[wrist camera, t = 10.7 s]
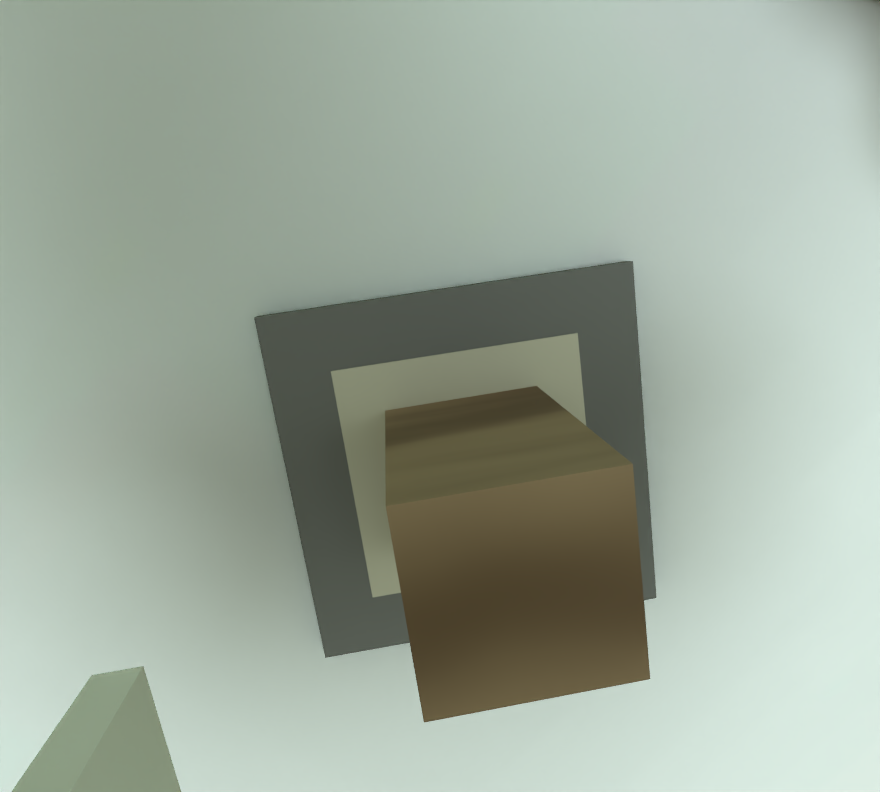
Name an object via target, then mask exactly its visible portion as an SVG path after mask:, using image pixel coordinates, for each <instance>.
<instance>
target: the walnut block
mask: <svg viewBox="0 0 880 792" xmlns="http://www.w3.org/2000/svg"><path fill="white" fill-rule="evenodd" d="M385 484H386V511H387V517H388V523H389V528H390V534H391V539H392V545H393V551H394V556H395V562H396V568H397V573H398V579H399V584H400V590H401V596H402V601H403V607H404V612H405V618H406V624H407V629H408V635H409V640H410V646H411V652H412V657H413V663H414V669H415V674H416V680H417V685H418V691H419V697H420V702H421V708H422V713H423V719H424V722H429V721H434V720H439V719H444V718H449V717H455V716H460V715H465V714H470V713H475V712H481V711H486V710H491V709H496V708H501V707H507V706H512V705H517V704H522V703H528V702H533V701H538V700H543V699H548V698H554V697H559V696H564V695H569V694H574V693H580V692H585V691H590V690H595V689H600V688H606V687H611V686H616V685H621V684H627V683H632V682H637V681H642V680H647V679H650V672H649V659H648V647H647V634H646V622H645V609H644V597H643V584H642V572H641V559H640V547H639V534H638V522H637V509H636V497H635V485H634V472H633V464H632V463H631V462H630V461H629V460H627V459H626V458H625V457H624V456H623V455H621V454H620V453H619V452H618V451H616V450H615V449H614V448H613V447H611V446H610V445H609V444H608V443H607V442H605V441H604V440H603V439H602V438H600V437H599V436H598V435H597V434H595V433H594V432H593V431H592V430H591V429H589V428H588V427H587V426H586V425H584V424H583V423H582V422H581V421H579V420H578V419H577V418H576V417H574V416H573V415H572V414H571V413H570V412H568V411H567V410H566V409H565V408H563V407H562V406H561V405H560V404H558V403H557V402H556V401H555V400H554V399H552V398H551V397H550V396H549V395H547V394H546V393H545V392H544V391H542V390H541V389H540V388H539V387H538V386H532V387H526V388H520V389H514V390H508V391H502V392H496V393H490V394H484V395H477V396H471V397H465V398H459V399H453V400H447V401H441V402H435V403H428V404H422V405H416V406H410V407H404V408H398V409H392V410H386V411H385Z"/></svg>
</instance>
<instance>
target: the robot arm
mask: <svg viewBox="0 0 880 792" xmlns="http://www.w3.org/2000/svg"><path fill="white" fill-rule="evenodd" d="M12 792H181V790H180V787H179V784H178V780H177V777H176V774H175V770H174V767H173V764H172V760H171V757H170V754H169V750H168V747H167V744H166V741H165V737H164V734H163V731H162V727H161V724H160V721H159V717H158V714H157V711H156V707H155V704H154V701H153V697H152V694H151V691H150V688H149V684H148V681H147V678H146V674H145V671H144V668H143V667H137V668H131V669H125V670H120V671H114V672H108V673H102V674H97V675H92V676H91V677H90V679H89V680H88V682H87V683H86V685H85V686H84V687H83V689H82V690H81V692H80V693H79V695H78V696H77V698H76V699H75V700H74V702H73V703H72V705H71V706H70V708H69V709H68V711H67V712H66V714H65V715H64V716H63V718H62V719H61V721H60V722H59V724H58V725H57V727H56V728H55V729H54V731H53V732H52V734H51V735H50V737H49V738H48V740H47V741H46V743H45V744H44V745H43V747H42V748H41V750H40V751H39V753H38V754H37V756H36V757H35V759H34V760H33V761H32V763H31V764H30V766H29V767H28V769H27V770H26V772H25V773H24V774H23V776H22V777H21V779H20V780H19V782H18V783H17V785H16V786H15V788H14V789H13V790H12Z"/></svg>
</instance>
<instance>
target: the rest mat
mask: <svg viewBox="0 0 880 792" xmlns="http://www.w3.org/2000/svg"><path fill="white" fill-rule="evenodd" d="M255 323H256V328H257V333H258V338H259V342H260V347H261V352H262V357H263V361H264V366H265V371H266V376H267V381H268V385H269V390H270V395H271V400H272V404H273V409H274V414H275V419H276V424H277V428H278V433H279V438H280V443H281V447H282V452H283V457H284V462H285V466H286V471H287V476H288V481H289V486H290V490H291V495H292V500H293V505H294V509H295V514H296V519H297V524H298V529H299V533H300V538H301V543H302V548H303V552H304V557H305V562H306V567H307V572H308V576H309V581H310V586H311V591H312V595H313V600H314V605H315V610H316V615H317V619H318V624H319V629H320V634H321V638H322V643H323V648H324V653H325V658H326V657H332V656H337V655H343V654H348V653H354V652H359V651H365V650H370V649H376V648H381V647H387V646H392V645H398V644H404V643H409V642H410V640H409V635H408V629H407V624H406V618H405V612H404V607H403V601H402V596H401V590H400V584H399V579H398V573H397V568H396V562H395V556H394V551H393V545H392V539H391V534H390V528H389V523H388V517H387V511H386V484H385V411H386V410H392V409H398V408H404V407H410V406H416V405H422V404H428V403H435V402H441V401H447V400H453V399H459V398H465V397H471V396H477V395H484V394H490V393H496V392H502V391H508V390H514V389H520V388H526V387H532V386H538V387H539V388H540V389H541V390H542V391H544V392H545V393H546V394H547V395H549V396H550V397H551V398H552V399H554V400H555V401H556V402H557V403H558V404H560V405H561V406H562V407H563V408H565V409H566V410H567V411H568V412H570V413H571V414H572V415H573V416H574V417H576V418H577V419H578V420H579V421H581V422H582V423H583V424H584V425H586V426H587V427H588V428H589V429H591V430H592V431H593V432H594V433H595V434H597V435H598V436H599V437H600V438H602V439H603V440H604V441H605V442H607V443H608V444H609V445H610V446H611V447H613V448H614V449H615V450H616V451H618V452H619V453H620V454H621V455H623V456H624V457H625V458H626V459H627V460H629V461H630V462H631V463H632V464H633V472H634V485H635V497H636V509H637V522H638V534H639V547H640V559H641V572H642V584H643V597H644V600H647V599H653V598H656V586H655V572H654V558H653V544H652V529H651V515H650V501H649V487H648V472H647V458H646V444H645V430H644V415H643V401H642V387H641V373H640V358H639V344H638V330H637V316H636V301H635V287H634V273H633V261H625V262H618V263H611V264H605V265H598V266H591V267H585V268H578V269H571V270H565V271H558V272H551V273H544V274H538V275H531V276H524V277H518V278H511V279H504V280H497V281H491V282H484V283H477V284H471V285H464V286H457V287H450V288H444V289H437V290H430V291H424V292H417V293H410V294H404V295H397V296H390V297H383V298H377V299H370V300H363V301H357V302H350V303H343V304H336V305H330V306H323V307H316V308H310V309H303V310H296V311H290V312H283V313H276V314H269V315H263V316H257V317H255Z"/></svg>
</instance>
